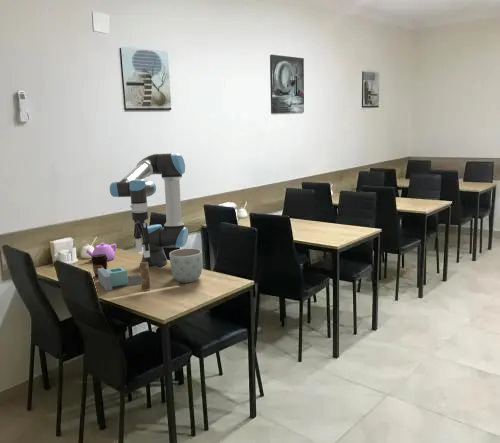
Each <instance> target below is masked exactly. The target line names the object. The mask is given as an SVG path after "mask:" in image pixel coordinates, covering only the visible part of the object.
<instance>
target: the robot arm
mask: <svg viewBox="0 0 500 443" xmlns="http://www.w3.org/2000/svg"><path fill="white" fill-rule="evenodd" d="M185 173H186V163H185V160H184V158H183V155H181V154H180V153H173V152H172V153H154V154H150V155H147V156H145V157H144V158H142V159H141V160H139V162H137V164H136V166H135V168H133V169H132V170H131V171H130V172H129V173H128V174H127V175H125V176H124V177H123V178H122V179H121V180H120V181H113V182H111V183H110V185H109V193H110V196H111V197H114V198H130V207H129V208H131V220H132V221H133V223H134V225H133V227H134V228H133V238H134V239H135V241H134V242H135V250H136V251H135V252H136V253H141V252H143V253H142V257H141V262H148V267H149V268H151V267H158V268H159V267H163V266H166V265H168V259H167V256H166V254H165V250H164V248H183V247H185V246H186V244H187V242H188V238H189V230H188V228H187V227H186V226H185V223H184V222H183V221H182V207H181V206H182V204H181V203H182V202H181V184H180V182H181V181H180V180H181V179H182V178H183V175H184V174H185ZM151 175H161V179H162V180H163V182H164V200H165V214H166V216H165V219H166V221H165V223H164V224H163V226H162V224H157V223H156V224H151V225H148V223H147V222H145V221H146V220H148V219H149V214H148V199H147V197H151V196H153V195H154V194H155V193H156V192H157V185H156V184H155V182H153V181H152V180H145V179H146V178H147V177H150V176H151ZM141 262H140V263H141Z"/></svg>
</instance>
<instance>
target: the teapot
mask: <svg viewBox="0 0 500 443" xmlns="http://www.w3.org/2000/svg"><path fill="white" fill-rule="evenodd" d="M117 245H118V244H116V243H112V244H106V243H105V242H100V243H99V244H97V245H95V247H94V249H93V251H90V250H89V249H87V250H85V253H86V254H87V255H88V256H90V257H91V258H92V256H93V255H98V254H106V256H107V257H108V258H107V262H110V261H113V260H114V259H115V256H116V254H115V251H116V249H117ZM112 247H113V248H112Z"/></svg>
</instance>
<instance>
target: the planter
mask: <svg viewBox="0 0 500 443" xmlns="http://www.w3.org/2000/svg"><path fill="white" fill-rule="evenodd" d="M168 255H169V256H168V257H169V261H170V262H169V263H170V270H171V274H172V277H173V278H174V280H175V281H177V282H179V283H182V284H188V282H189V283H193V282H197V280H199V278H200V277H201V274H202V272H203V270H202V268H203V265H202V264H203V251H202V250H201V249H199V248H193V247H191V248H179V249H175V250H171V251H170V252H169V253H168Z"/></svg>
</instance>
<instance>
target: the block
mask: <svg viewBox="0 0 500 443" xmlns="http://www.w3.org/2000/svg"><path fill="white" fill-rule="evenodd" d="M105 270H106V271H107V272H108V273H109V274H110V276H111V281H112V288H115V287H120V286H121V285H123V286H124V285H125V284H126V285H129V284H128V282H129V281H128V280H129V277H127V276H128V270H126V268H125V267H123V266H120V267H119V266H118V267H113V268H107V269H105ZM119 285H120V286H119ZM126 285H125V286H126ZM114 286H115V287H114Z"/></svg>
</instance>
